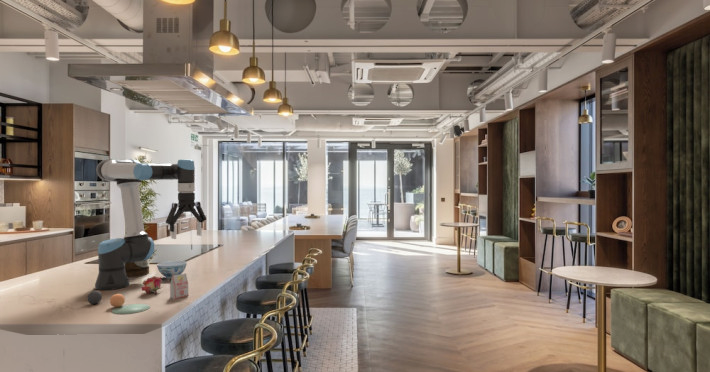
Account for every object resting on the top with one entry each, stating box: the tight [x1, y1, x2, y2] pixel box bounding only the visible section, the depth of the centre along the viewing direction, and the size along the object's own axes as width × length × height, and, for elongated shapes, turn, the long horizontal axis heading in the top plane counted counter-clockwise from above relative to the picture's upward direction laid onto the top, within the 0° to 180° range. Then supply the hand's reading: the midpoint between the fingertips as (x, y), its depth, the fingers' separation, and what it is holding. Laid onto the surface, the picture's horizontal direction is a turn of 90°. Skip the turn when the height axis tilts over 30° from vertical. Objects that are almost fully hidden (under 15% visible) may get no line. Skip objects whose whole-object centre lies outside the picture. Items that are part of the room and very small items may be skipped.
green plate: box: [111, 303, 151, 315], centre depth 189 cm, size 14×14×1 cm
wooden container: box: [125, 258, 150, 278], centre depth 259 cm, size 15×15×22 cm
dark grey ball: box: [86, 290, 103, 305], centre depth 198 cm, size 6×6×6 cm
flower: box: [141, 275, 163, 294], centre depth 215 cm, size 10×9×8 cm
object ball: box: [109, 293, 126, 308], centre depth 192 cm, size 6×6×6 cm
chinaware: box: [156, 260, 188, 280], centre depth 249 cm, size 15×15×8 cm
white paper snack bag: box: [169, 273, 189, 300], centre depth 208 cm, size 4×7×10 cm, turn 142°
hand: (186, 237), depth 218 cm, fingers open, 13 cm apart
